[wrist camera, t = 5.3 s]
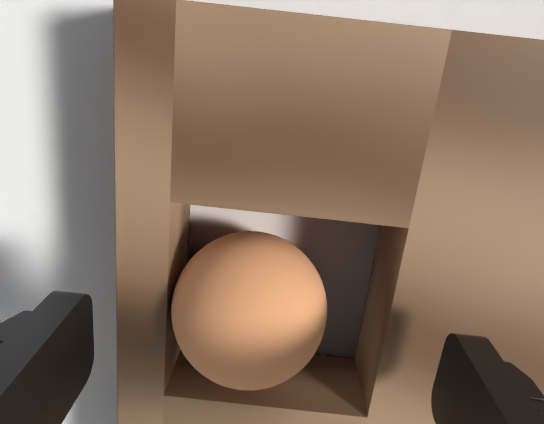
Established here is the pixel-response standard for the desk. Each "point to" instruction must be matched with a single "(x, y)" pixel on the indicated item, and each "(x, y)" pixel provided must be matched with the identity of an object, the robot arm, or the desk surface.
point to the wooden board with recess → (329, 194)
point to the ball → (249, 310)
